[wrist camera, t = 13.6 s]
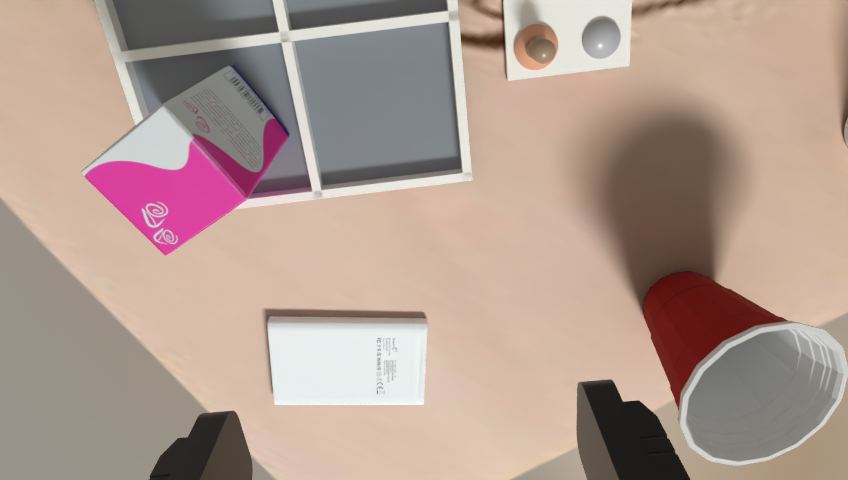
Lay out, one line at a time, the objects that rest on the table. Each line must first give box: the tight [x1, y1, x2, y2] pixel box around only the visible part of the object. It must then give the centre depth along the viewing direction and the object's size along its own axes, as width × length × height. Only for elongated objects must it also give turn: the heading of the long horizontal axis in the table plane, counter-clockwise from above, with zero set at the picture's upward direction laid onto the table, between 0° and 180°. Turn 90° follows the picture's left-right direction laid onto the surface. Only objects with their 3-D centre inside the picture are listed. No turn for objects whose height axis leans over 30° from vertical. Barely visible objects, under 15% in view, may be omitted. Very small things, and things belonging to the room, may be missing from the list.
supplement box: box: [81, 64, 290, 256], centre depth 32 cm, size 6×6×12 cm
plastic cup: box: [643, 271, 848, 466], centre depth 40 cm, size 11×11×12 cm
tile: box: [503, 0, 632, 81], centre depth 35 cm, size 8×8×3 cm
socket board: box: [94, 0, 472, 209], centre depth 35 cm, size 21×21×2 cm
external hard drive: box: [267, 316, 428, 405], centre depth 47 cm, size 2×8×12 cm
